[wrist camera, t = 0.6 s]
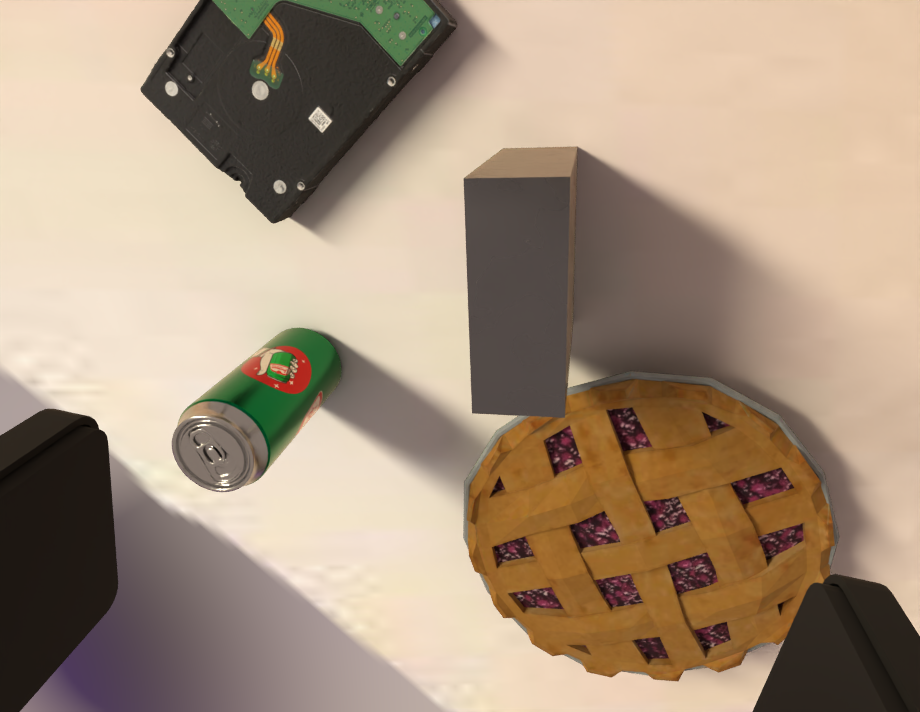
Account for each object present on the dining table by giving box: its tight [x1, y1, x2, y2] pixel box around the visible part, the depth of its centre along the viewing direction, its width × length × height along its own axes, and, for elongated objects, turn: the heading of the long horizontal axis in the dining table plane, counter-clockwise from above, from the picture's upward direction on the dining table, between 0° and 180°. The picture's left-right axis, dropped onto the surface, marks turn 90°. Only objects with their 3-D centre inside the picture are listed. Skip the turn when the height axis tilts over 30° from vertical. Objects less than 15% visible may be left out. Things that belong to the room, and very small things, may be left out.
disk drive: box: [141, 0, 457, 223], centre depth 36 cm, size 10×3×15 cm
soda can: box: [172, 328, 341, 492], centre depth 38 cm, size 5×5×12 cm
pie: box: [463, 371, 839, 681], centre depth 41 cm, size 22×22×5 cm
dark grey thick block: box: [464, 147, 578, 418], centre depth 32 cm, size 4×10×12 cm, turn 2°
